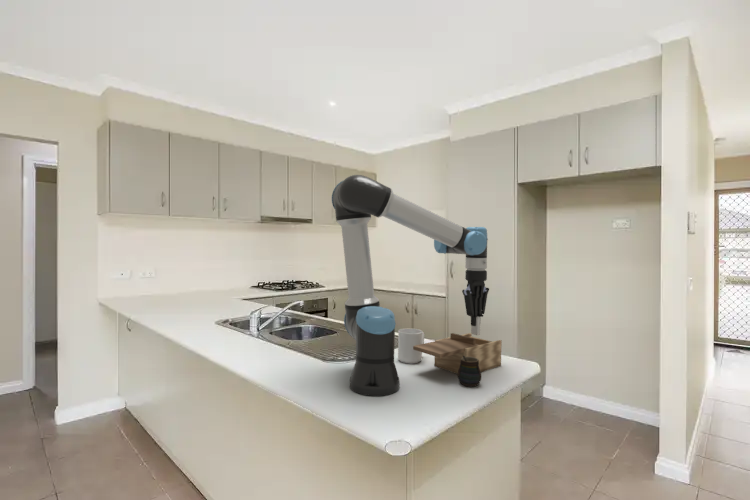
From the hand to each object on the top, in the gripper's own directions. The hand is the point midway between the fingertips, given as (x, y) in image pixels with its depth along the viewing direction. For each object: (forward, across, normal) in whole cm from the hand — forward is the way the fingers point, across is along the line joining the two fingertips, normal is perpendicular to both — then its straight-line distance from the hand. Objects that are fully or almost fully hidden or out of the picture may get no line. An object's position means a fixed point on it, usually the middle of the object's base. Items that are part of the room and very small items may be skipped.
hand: (475, 334), depth 144 cm
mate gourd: (+11, -19, -12) cm, 25 cm away
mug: (+11, -15, +17) cm, 25 cm away
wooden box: (+11, -4, 0) cm, 12 cm away
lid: (+3, -15, 0) cm, 16 cm away
